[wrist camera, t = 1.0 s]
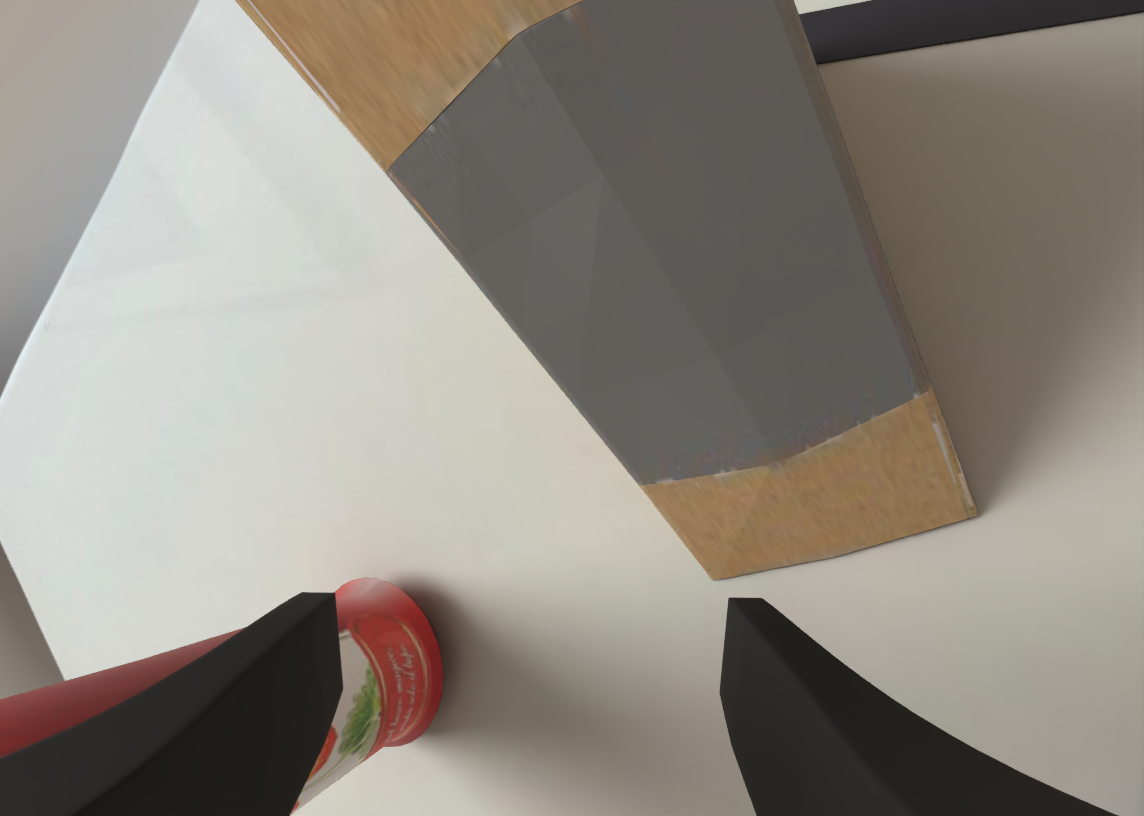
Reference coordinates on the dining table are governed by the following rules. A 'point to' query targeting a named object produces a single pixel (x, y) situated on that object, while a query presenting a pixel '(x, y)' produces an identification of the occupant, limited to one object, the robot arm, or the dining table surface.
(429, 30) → the sandwich container
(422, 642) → the liquor
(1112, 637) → the dining table surface
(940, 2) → the tape line
